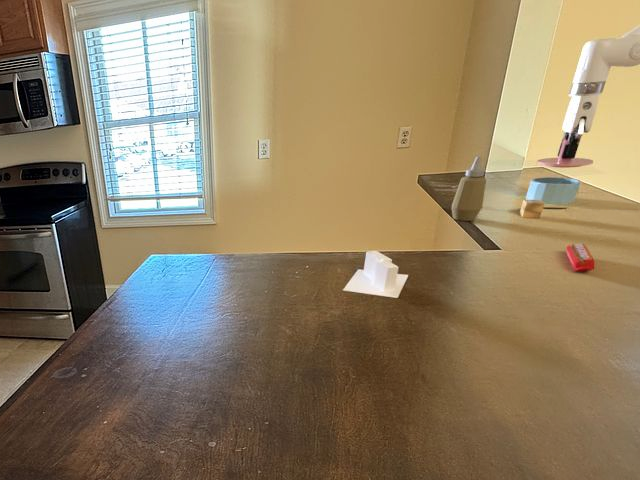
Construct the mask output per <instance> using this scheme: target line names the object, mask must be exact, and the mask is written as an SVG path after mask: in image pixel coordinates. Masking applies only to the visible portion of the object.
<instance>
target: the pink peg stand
mask: <svg viewBox="0 0 640 480" xmlns="http://www.w3.org/2000/svg"><path fill="white" fill-rule="evenodd" d="M567 141H568V139H565V140H563V142H561V143H562V147H561V150H560V153H559V157H558V156H557V157H548V158H541V159H537V160H536V164H537V165H540V166H545V167H550V168H560V169H561V168H565V169H566V168H579V167H580V168H581V167H584V166H590V165H592V164H593V163H594V160H593V159H591V158H590V159H589V158H585V157H583V158H582V157H575V158H572V159H562V158H561V157H562V154H563V150H564V147H565V144H567Z"/></svg>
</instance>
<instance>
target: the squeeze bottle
mask: <svg viewBox="0 0 640 480" xmlns="http://www.w3.org/2000/svg"><path fill="white" fill-rule="evenodd" d="M485 171H486V170H485V169H484V168H482V155H477V156H476V157H475V159H474V161H473V163H472V166H471V168H468V169H466V170H465V176H463V177H462V178H461V179H460V181H459V182H458V183H459V184H458V186H457V189H456V192H455V195H454V197H453V201H452V204H451V214H452V219H453V220H456V221H461V222H469V221H470V222H471V221H474V220H476V218H477V217H478V215H479V214H480V212H481V210H482V208H483V204H484V197H485V192H486V191H485V190H486V184H487V178H486V177H485V176H484V175H485Z"/></svg>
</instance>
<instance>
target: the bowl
mask: <svg viewBox="0 0 640 480" xmlns="http://www.w3.org/2000/svg"><path fill="white" fill-rule="evenodd" d="M582 182H583V181H582V180H580V179H577V178H573V177H572V178H569V177H559V176H543V177H535V178H532V179H530V183H529V186H528V189H527V193H526V195H525V200H542V201H543V202H544V205H569V204H574V203H575V202H576V199H577V196H578V193H579V191H580V188H581V186H582ZM567 208H568V207H556V206H555V207H550V206H549V207H547V206H543V209H542V210H566V209H567ZM567 210H568V209H567Z"/></svg>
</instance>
